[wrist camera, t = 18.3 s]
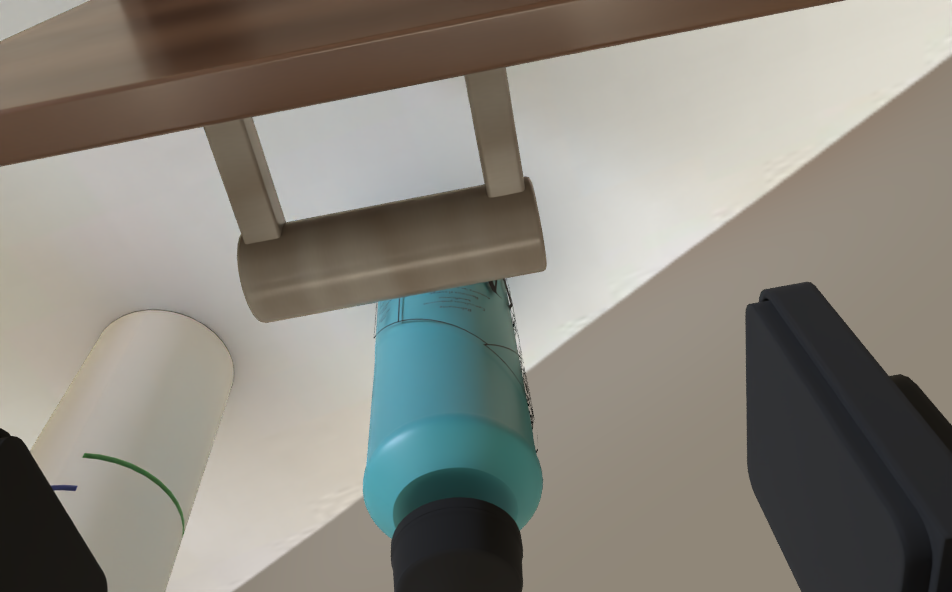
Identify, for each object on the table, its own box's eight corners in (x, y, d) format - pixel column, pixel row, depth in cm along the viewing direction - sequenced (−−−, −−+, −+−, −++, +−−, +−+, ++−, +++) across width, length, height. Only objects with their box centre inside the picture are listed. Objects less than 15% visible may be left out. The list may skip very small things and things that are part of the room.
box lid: (-274, 165, 12) (-91, 443, 14) (951, -80, 11) (919, 257, 14) (109, -10, 26) (167, 144, 29) (654, -121, 25) (666, 47, 28)
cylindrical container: (76, 314, 41) (-295, 861, 20) (219, 305, 42) (4, 835, 20) (114, 424, 45) (-165, 986, 23) (245, 415, 45) (87, 963, 24)
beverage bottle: (397, 340, 43) (384, 689, 26) (360, 230, 40) (317, 549, 23) (517, 313, 43) (585, 649, 26) (490, 199, 39) (547, 500, 22)
